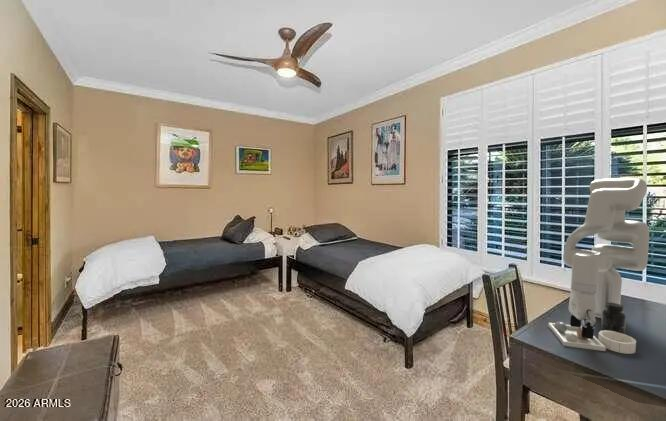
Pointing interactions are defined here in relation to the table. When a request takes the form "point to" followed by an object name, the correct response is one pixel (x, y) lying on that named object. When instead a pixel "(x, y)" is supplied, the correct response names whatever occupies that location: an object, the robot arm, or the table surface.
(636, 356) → the table surface
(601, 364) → the table surface
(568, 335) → the pebble
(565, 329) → the pebble
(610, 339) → the bowl
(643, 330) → the table surface
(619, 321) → the supplement bottle
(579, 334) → the pebble
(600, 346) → the parts tray
